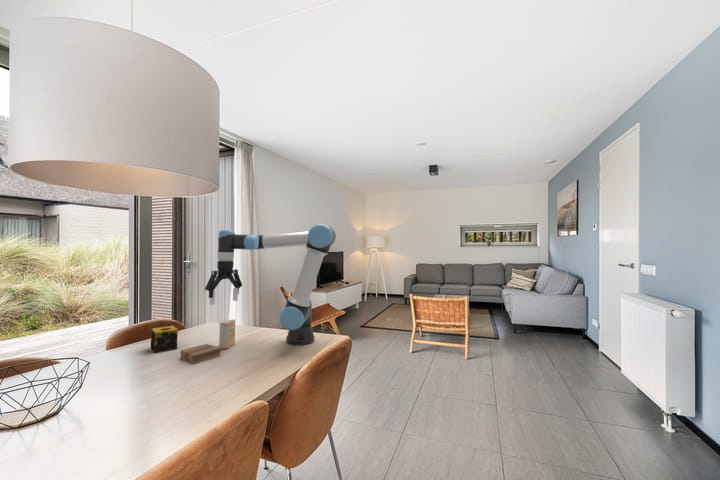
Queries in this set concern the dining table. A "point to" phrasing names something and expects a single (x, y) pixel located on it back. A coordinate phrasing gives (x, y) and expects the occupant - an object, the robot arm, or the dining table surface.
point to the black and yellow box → (164, 339)
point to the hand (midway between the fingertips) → (224, 302)
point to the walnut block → (200, 353)
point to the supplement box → (227, 334)
